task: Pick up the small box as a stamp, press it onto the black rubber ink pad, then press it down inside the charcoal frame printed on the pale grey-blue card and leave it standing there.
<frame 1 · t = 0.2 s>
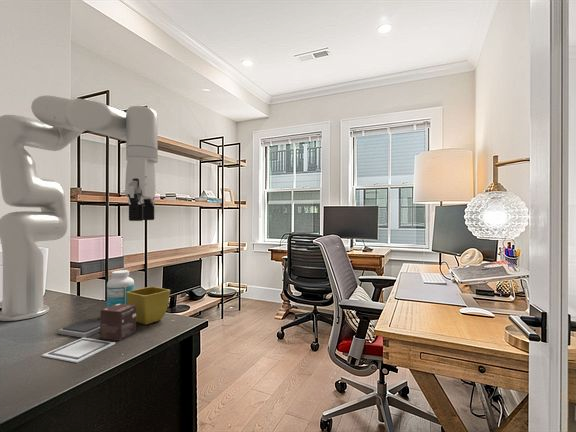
hand: (142, 220, 82), 30 cm above the table, fingers open, 9 cm apart
flower pot: (148, 321, 91), on the table
pill bottle: (120, 315, 97), on the table
ink pad: (87, 329, 84), on the table
frame card: (80, 349, 72), on the table
box: (118, 336, 81), on the table
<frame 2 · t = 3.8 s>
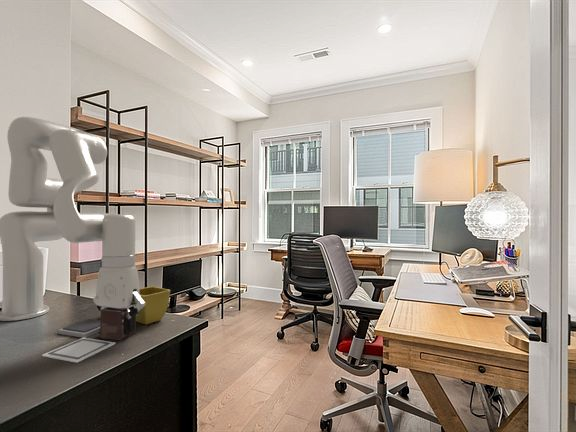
hand: (118, 330, 81), 1 cm above the table, fingers closed on box, 6 cm apart
box: (118, 335, 81), on the table, touching gripper
everything else where it was.
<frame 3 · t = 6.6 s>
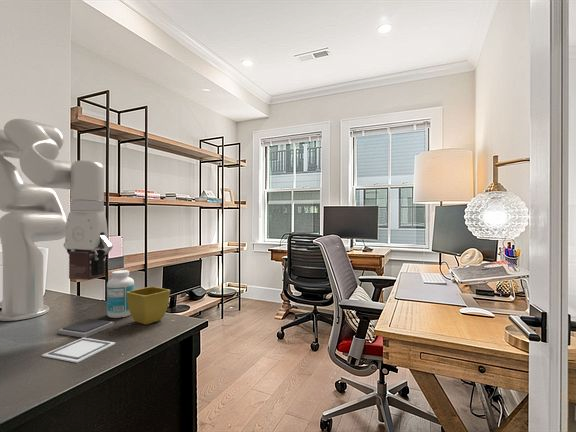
hand: (87, 273, 84), 15 cm above the table, fingers closed on box, 6 cm apart
box: (87, 278, 84), point 14 cm above the table, touching gripper
everything else where it was.
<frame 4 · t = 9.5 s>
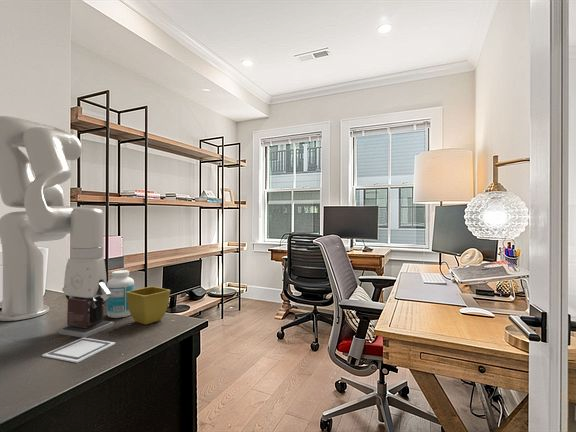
hand: (85, 319, 84), 3 cm above the table, fingers closed on box, 6 cm apart
box: (85, 324, 84), point 1 cm above the table, touching gripper
everything else where it was.
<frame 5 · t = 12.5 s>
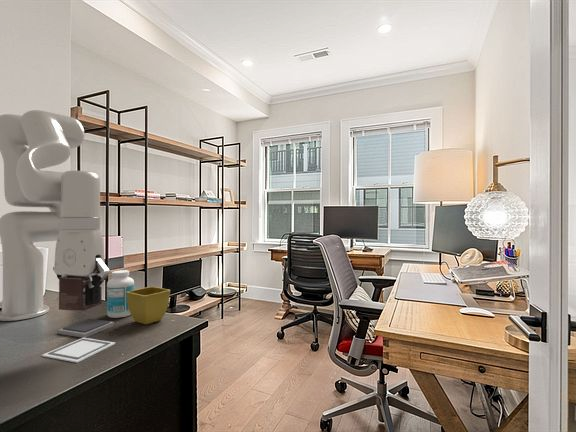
hand: (80, 302, 72), 11 cm above the table, fingers closed on box, 6 cm apart
box: (80, 308, 72), point 10 cm above the table, touching gripper
everything else where it was.
when the fingers open (2 cm above the table, at t = 15.4 s): box stays where it is, resting on frame card.
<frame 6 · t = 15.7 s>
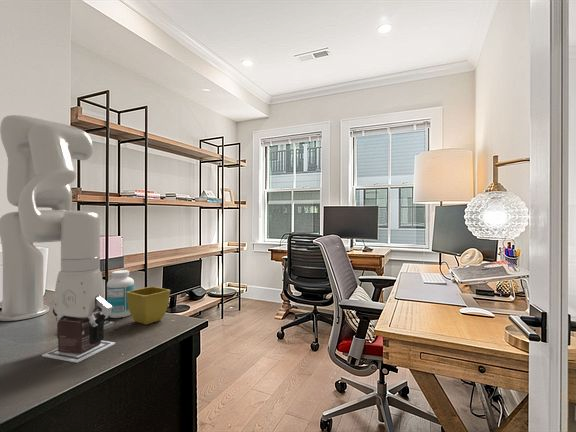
hand: (80, 339, 72), 2 cm above the table, fingers open, 9 cm apart
box: (80, 349, 72), resting on frame card
everything else where it was.
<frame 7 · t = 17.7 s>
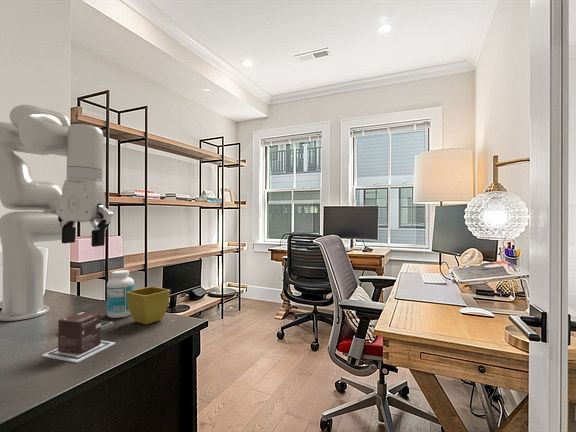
hand: (83, 244, 78), 24 cm above the table, fingers open, 9 cm apart
nothing on the table moved.
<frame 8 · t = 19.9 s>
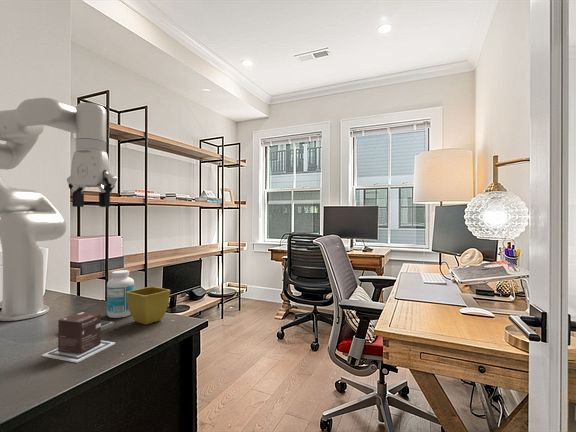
hand: (91, 206, 91), 33 cm above the table, fingers open, 9 cm apart
nothing on the table moved.
at the end: box inside the target area on the frame card (0.2 cm from its centre), point 0.1 cm above the frame card's base; box tilted 0°; the gripper is holding nothing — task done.
